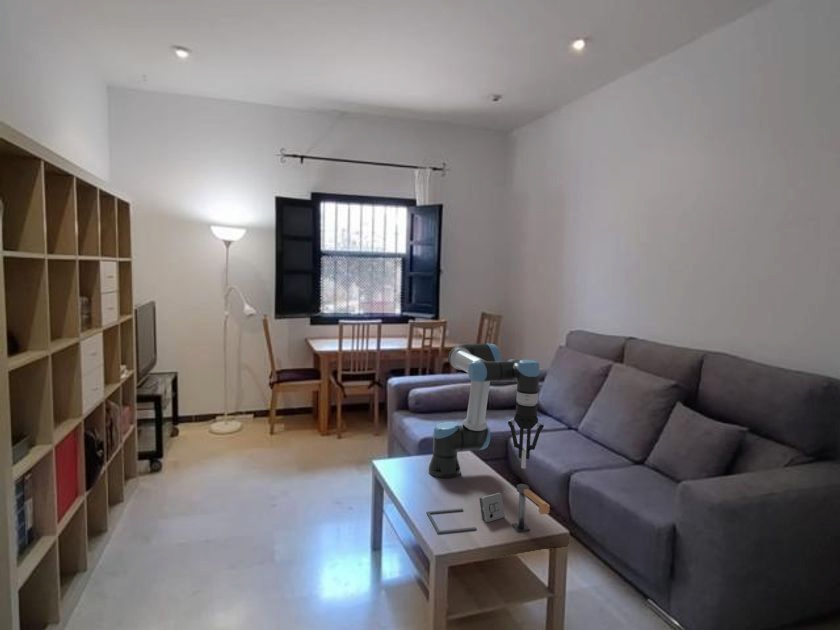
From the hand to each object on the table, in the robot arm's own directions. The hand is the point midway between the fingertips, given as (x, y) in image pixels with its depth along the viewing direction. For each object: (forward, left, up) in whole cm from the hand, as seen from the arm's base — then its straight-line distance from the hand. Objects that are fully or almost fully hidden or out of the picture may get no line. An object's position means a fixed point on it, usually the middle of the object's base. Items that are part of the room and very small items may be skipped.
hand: (523, 466), depth 181 cm
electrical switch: (-14, -6, -26) cm, 30 cm away
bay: (-14, -22, -26) cm, 36 cm away
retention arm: (+3, +3, -13) cm, 13 cm away
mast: (-4, +2, -26) cm, 26 cm away
